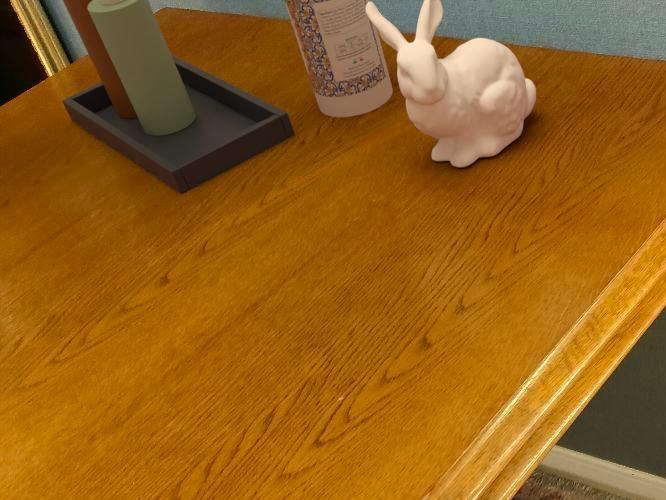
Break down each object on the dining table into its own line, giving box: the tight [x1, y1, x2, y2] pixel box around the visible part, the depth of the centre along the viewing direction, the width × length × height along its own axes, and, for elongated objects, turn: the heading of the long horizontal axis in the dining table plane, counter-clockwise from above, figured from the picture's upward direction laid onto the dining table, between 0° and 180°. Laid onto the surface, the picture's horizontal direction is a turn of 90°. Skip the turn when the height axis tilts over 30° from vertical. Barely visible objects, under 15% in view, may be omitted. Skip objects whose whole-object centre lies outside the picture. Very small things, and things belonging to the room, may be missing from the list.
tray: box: [61, 54, 296, 195], centre depth 92 cm, size 12×24×3 cm, turn 42°
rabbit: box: [365, 0, 537, 168], centre depth 80 cm, size 12×9×12 cm
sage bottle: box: [87, 0, 196, 136], centre depth 89 cm, size 5×5×13 cm
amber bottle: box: [62, 0, 138, 119], centre depth 92 cm, size 5×5×13 cm
